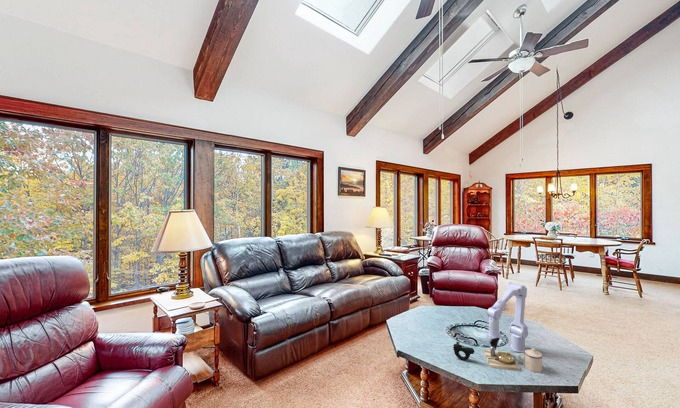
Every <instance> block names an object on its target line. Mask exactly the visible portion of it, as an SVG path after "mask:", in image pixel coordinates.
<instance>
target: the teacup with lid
mask: <svg viewBox="0 0 680 408" xmlns="http://www.w3.org/2000/svg"><path fill="white" fill-rule="evenodd" d="M521 356H524V360H523V359H522V358H521ZM543 356H544V355H543V353H542V352H540V351H538V350H536V348H534V347H532V348H531V349H525V352H524V353H522V352H519V354H518V358H519V360H520V362H522V363H524V367H525V369H527V370H529V372H533V373H541V372H542V371H543Z"/></svg>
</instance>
